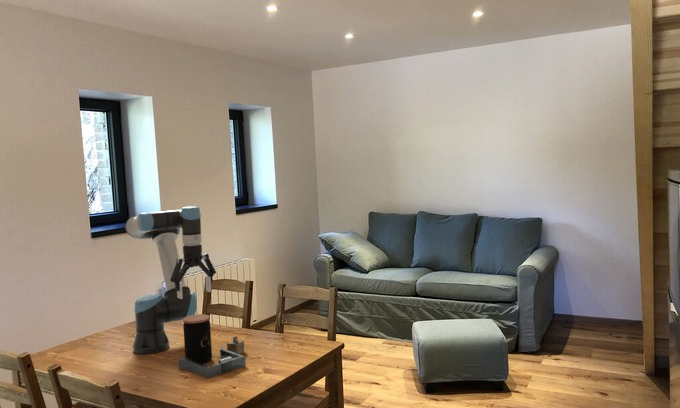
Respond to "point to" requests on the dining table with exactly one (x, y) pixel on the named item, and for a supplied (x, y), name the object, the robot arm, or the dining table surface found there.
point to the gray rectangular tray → (225, 364)
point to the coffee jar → (197, 338)
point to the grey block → (236, 346)
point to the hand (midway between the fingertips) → (194, 294)
